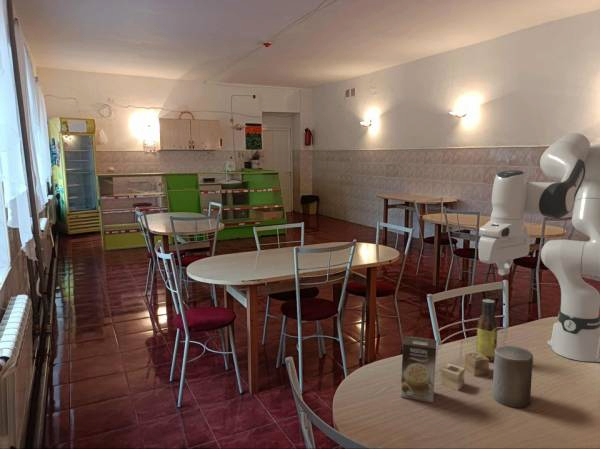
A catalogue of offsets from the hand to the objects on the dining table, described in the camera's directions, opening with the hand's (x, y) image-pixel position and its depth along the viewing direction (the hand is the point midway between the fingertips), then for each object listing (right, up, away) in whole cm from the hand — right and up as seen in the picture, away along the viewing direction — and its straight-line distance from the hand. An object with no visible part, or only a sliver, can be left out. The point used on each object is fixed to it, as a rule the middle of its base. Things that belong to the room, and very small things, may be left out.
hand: (503, 274), depth 127 cm
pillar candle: (0, -35, -5) cm, 35 cm away
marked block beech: (-14, -33, +3) cm, 36 cm away
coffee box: (-26, -34, -3) cm, 43 cm away
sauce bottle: (+3, -31, +20) cm, 37 cm away
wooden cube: (-4, -32, +11) cm, 34 cm away
